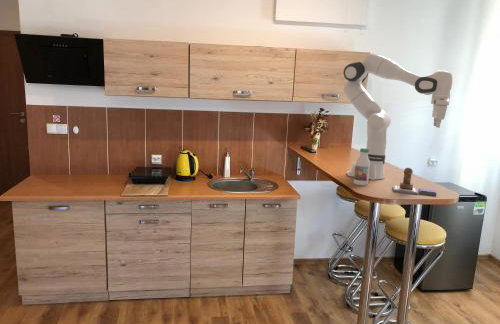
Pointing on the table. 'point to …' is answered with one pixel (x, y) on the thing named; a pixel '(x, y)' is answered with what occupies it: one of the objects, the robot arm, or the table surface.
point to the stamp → (407, 179)
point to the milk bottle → (362, 168)
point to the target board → (405, 190)
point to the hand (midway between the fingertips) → (436, 126)
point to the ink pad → (427, 192)
